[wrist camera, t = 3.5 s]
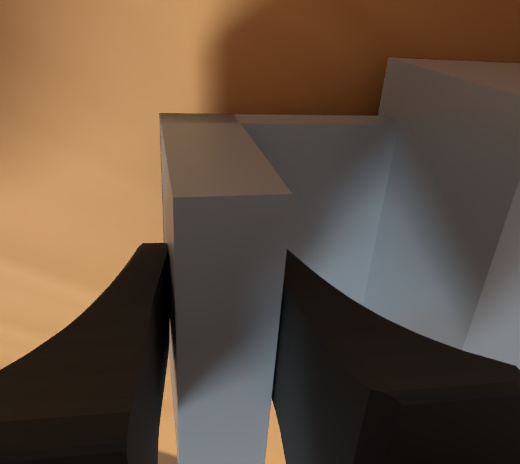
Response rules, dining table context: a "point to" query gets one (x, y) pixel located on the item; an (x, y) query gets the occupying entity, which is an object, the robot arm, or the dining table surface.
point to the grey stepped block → (338, 233)
